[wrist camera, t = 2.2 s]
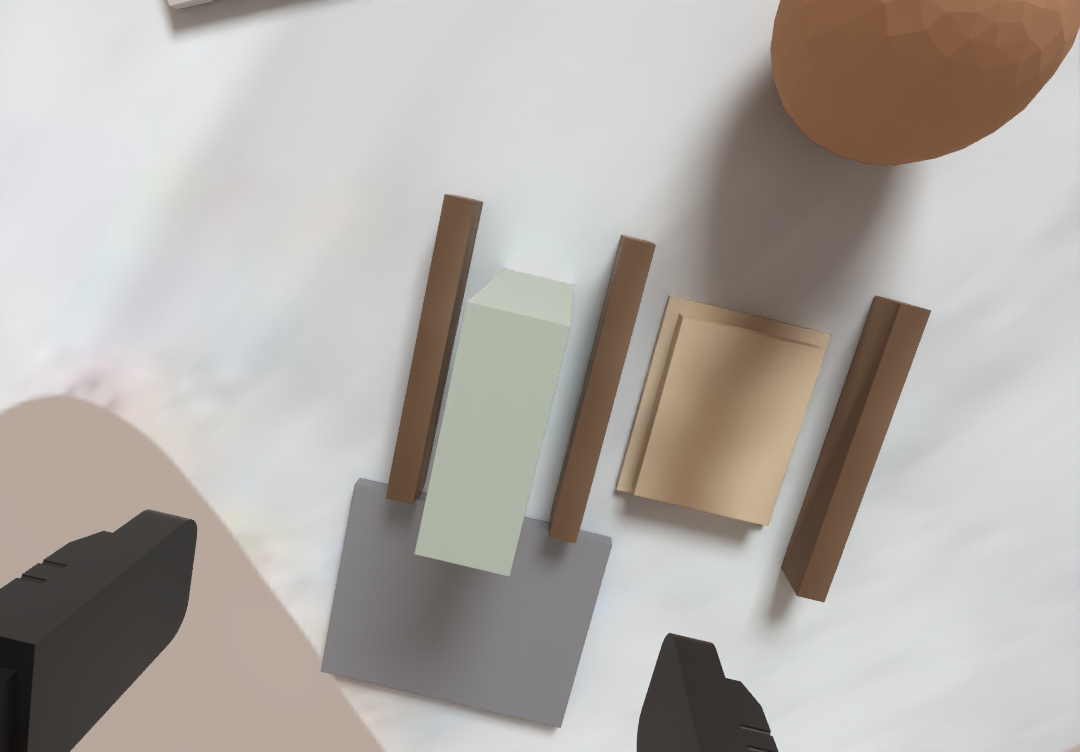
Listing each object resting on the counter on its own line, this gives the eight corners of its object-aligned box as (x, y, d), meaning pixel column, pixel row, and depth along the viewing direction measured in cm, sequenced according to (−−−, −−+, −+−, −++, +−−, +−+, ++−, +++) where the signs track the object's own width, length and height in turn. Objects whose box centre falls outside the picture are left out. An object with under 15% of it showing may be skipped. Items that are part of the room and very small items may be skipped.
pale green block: (572, 284, 31) (570, 326, 20) (531, 455, 33) (509, 576, 22) (505, 268, 31) (467, 301, 20) (467, 440, 33) (414, 553, 22)
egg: (738, -40, 28) (843, -200, 17) (961, -68, 27) (1220, -253, 16) (745, 182, 30) (845, 168, 19) (954, 160, 29) (1183, 133, 18)
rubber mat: (611, 537, 34) (611, 545, 33) (561, 716, 36) (560, 728, 35) (359, 478, 33) (354, 484, 33) (326, 661, 36) (320, 671, 35)
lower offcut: (821, 330, 32) (831, 335, 30) (760, 514, 34) (767, 525, 33) (666, 293, 32) (670, 296, 30) (615, 479, 34) (616, 489, 33)
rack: (902, 302, 30) (931, 310, 28) (806, 573, 33) (824, 602, 31) (455, 195, 30) (444, 194, 28) (399, 477, 33) (385, 498, 31)
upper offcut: (816, 345, 31) (826, 350, 29) (761, 514, 32) (767, 526, 31) (679, 313, 31) (683, 317, 29) (631, 484, 32) (633, 495, 31)
